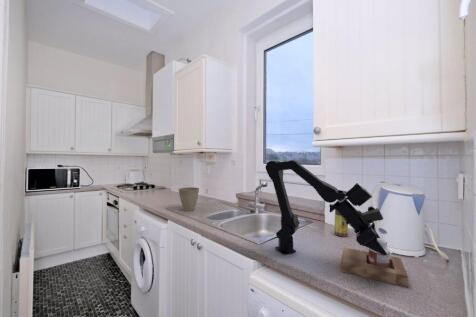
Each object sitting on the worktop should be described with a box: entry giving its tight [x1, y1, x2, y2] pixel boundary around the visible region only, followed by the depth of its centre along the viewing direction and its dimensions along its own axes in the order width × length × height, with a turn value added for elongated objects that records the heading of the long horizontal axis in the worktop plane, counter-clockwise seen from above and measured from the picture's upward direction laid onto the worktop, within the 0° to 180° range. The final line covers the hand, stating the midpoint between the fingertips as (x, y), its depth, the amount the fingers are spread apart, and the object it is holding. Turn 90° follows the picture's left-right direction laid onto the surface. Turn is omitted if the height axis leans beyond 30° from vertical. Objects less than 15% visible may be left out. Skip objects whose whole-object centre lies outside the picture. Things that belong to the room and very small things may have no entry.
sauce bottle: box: [333, 196, 349, 237], centre depth 114 cm, size 7×6×20 cm
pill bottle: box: [368, 237, 391, 268], centre depth 78 cm, size 6×6×11 cm
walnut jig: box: [340, 246, 409, 288], centre depth 79 cm, size 19×14×4 cm
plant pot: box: [178, 186, 200, 212], centre depth 164 cm, size 15×15×16 cm
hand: (384, 249), depth 77 cm, fingers open, 9 cm apart
